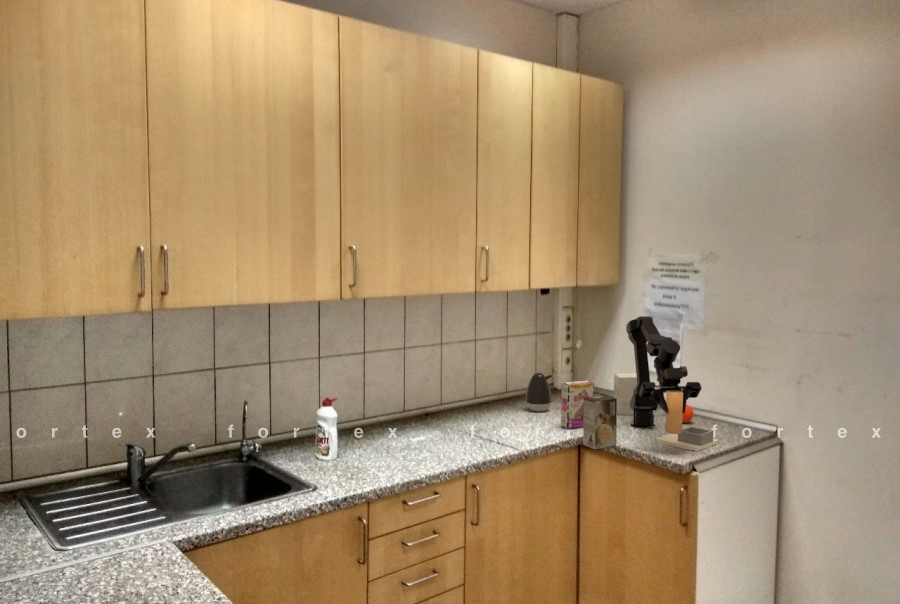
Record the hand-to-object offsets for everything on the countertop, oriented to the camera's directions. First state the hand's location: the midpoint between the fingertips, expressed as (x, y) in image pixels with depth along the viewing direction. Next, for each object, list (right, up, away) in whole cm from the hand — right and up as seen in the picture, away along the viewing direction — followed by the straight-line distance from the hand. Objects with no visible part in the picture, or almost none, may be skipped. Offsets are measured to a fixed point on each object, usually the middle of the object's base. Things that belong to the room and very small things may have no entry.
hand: (675, 412), depth 226 cm
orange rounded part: (0, -6, +2) cm, 7 cm away
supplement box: (-1, -9, +57) cm, 58 cm away
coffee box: (-22, -13, +11) cm, 28 cm away
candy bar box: (-25, -11, +35) cm, 44 cm away
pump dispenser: (-36, -9, +60) cm, 71 cm away
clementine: (+16, -10, +41) cm, 45 cm away
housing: (+8, -12, +14) cm, 20 cm away
